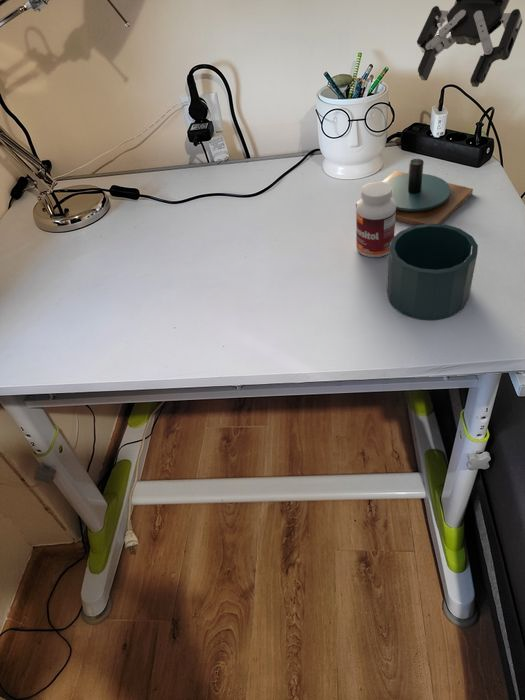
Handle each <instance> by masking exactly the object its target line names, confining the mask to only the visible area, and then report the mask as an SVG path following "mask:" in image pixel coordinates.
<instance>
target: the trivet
mask: <svg viewBox="0 0 525 700" xmlns="http://www.w3.org/2000/svg"><path fill="white" fill-rule="evenodd" d="M405 174H409V172H405V171H401V170H397V169H395V170H394V171H392V172H391V174H390V175H388V176H387V177H386V178H385V179H384V180H382V181H381V182H386V181H387V180H389V179H391V178H393V177H396V176H400V175H405ZM447 183H448V185H449V186H450V189H451V191H450V196H449V198H448V199H447V201H446V202H444V203H443V204H441V205H440V206H438V207H435V208H432V209H429V210H423V211H403V210H398V209H396V215H395V221H399V222H403V223H406V224H409V225H412V226H415V225H422V224H429V223H431V224H444V222H445V221H446V220H448V218H449V217H450V216H451V215H453V214H454V213H455V212H456V211H457V209H458V208H460V207H461V206H462V204H464V203H465V202H466V201H467V199H469V198H470V197H471V196H472V195H473V191H474V188H470V187H466V186H463V185H458V184H454V183H450V182H447ZM358 202H359V200H357V202H355V208H356V207H357V203H358Z"/></svg>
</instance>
